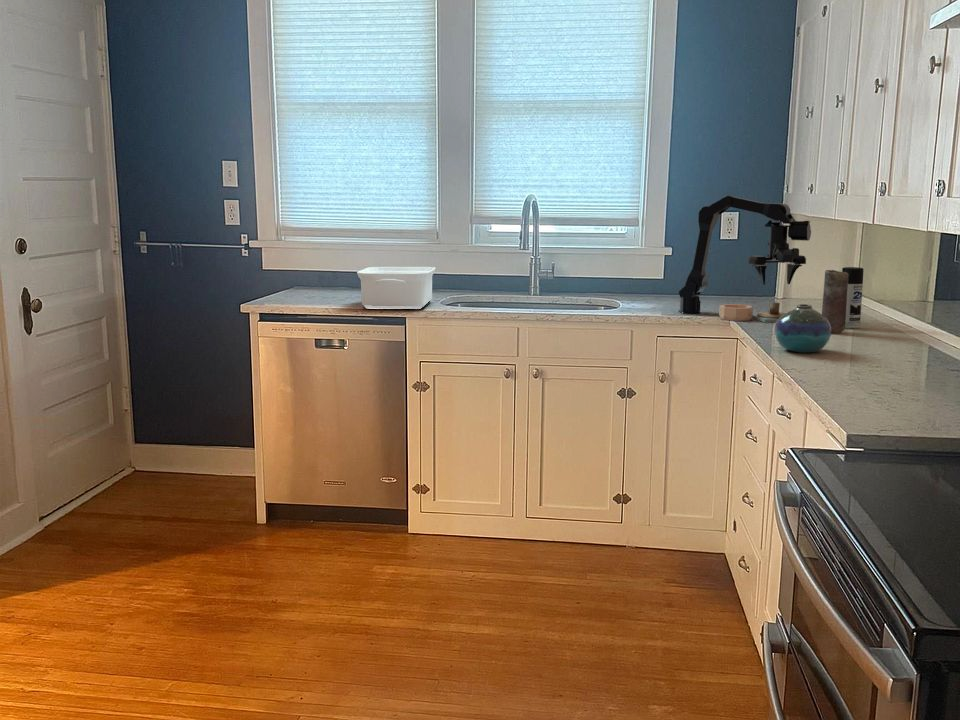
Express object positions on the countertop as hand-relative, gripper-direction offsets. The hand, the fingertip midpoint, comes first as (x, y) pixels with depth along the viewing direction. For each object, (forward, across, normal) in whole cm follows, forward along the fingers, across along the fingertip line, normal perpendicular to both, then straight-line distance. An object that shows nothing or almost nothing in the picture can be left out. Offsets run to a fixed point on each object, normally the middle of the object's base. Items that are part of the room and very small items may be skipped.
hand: (776, 284), depth 314 cm
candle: (+13, +6, -30) cm, 33 cm away
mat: (+12, 0, 0) cm, 12 cm away
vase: (+13, -19, -59) cm, 63 cm away
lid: (+11, 0, 0) cm, 11 cm away
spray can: (+13, +16, -22) cm, 30 cm away
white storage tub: (+12, -132, +57) cm, 144 cm away
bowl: (+12, -13, +3) cm, 18 cm away
